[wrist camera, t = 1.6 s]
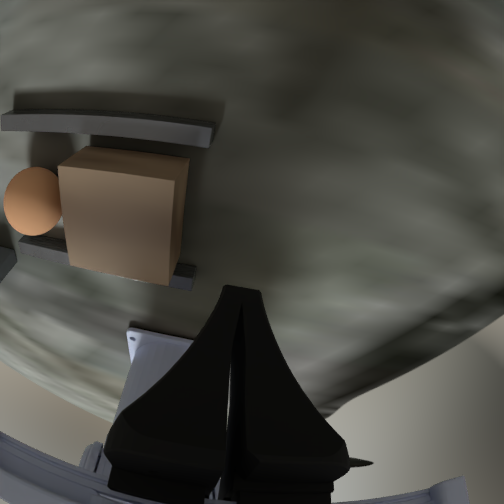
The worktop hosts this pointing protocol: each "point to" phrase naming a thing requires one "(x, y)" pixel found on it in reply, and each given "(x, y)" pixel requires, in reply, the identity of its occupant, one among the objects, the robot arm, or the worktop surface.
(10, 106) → the worktop surface
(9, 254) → the tray
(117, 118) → the rails
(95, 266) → the brown square block
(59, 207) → the ball
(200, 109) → the worktop surface
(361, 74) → the worktop surface
